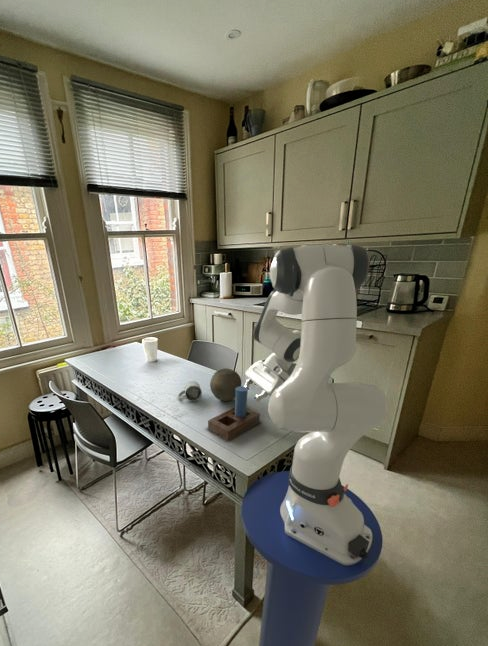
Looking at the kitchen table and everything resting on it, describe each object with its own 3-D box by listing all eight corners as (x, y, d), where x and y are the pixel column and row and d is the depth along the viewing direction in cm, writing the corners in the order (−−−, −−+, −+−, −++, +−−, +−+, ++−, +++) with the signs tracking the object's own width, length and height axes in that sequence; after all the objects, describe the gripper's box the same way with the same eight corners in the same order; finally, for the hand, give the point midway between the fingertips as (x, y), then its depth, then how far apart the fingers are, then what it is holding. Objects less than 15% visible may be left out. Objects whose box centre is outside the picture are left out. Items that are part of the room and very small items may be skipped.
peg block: (259, 422, 126) (260, 413, 124) (227, 440, 115) (227, 431, 113) (239, 412, 133) (239, 404, 131) (208, 429, 122) (208, 420, 121)
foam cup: (162, 359, 195) (160, 338, 189) (151, 363, 188) (150, 342, 183) (151, 356, 200) (149, 336, 195) (140, 360, 194) (138, 340, 189)
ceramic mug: (199, 392, 151) (199, 378, 148) (202, 400, 144) (201, 385, 140) (177, 394, 150) (176, 380, 147) (179, 402, 143) (178, 387, 140)
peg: (248, 422, 126) (250, 388, 120) (240, 426, 123) (242, 392, 117) (239, 418, 129) (240, 385, 123) (232, 422, 126) (233, 388, 120)
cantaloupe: (205, 395, 148) (205, 366, 142) (234, 391, 151) (234, 362, 145) (215, 410, 136) (215, 378, 129) (246, 405, 139) (247, 373, 132)
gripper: (255, 354, 128) (233, 380, 130) (284, 372, 111) (258, 402, 112) (264, 363, 131) (242, 388, 133) (294, 382, 114) (268, 410, 115)
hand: (249, 394), depth 122 cm, fingers open, 8 cm apart
